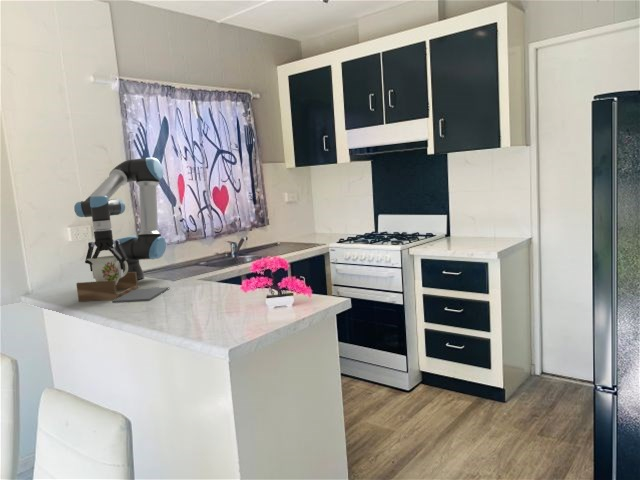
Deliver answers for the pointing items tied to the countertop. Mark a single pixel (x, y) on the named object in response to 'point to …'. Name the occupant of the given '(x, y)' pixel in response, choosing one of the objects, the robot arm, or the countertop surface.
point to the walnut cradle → (107, 288)
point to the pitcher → (107, 268)
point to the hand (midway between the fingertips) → (108, 277)
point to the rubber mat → (141, 295)
